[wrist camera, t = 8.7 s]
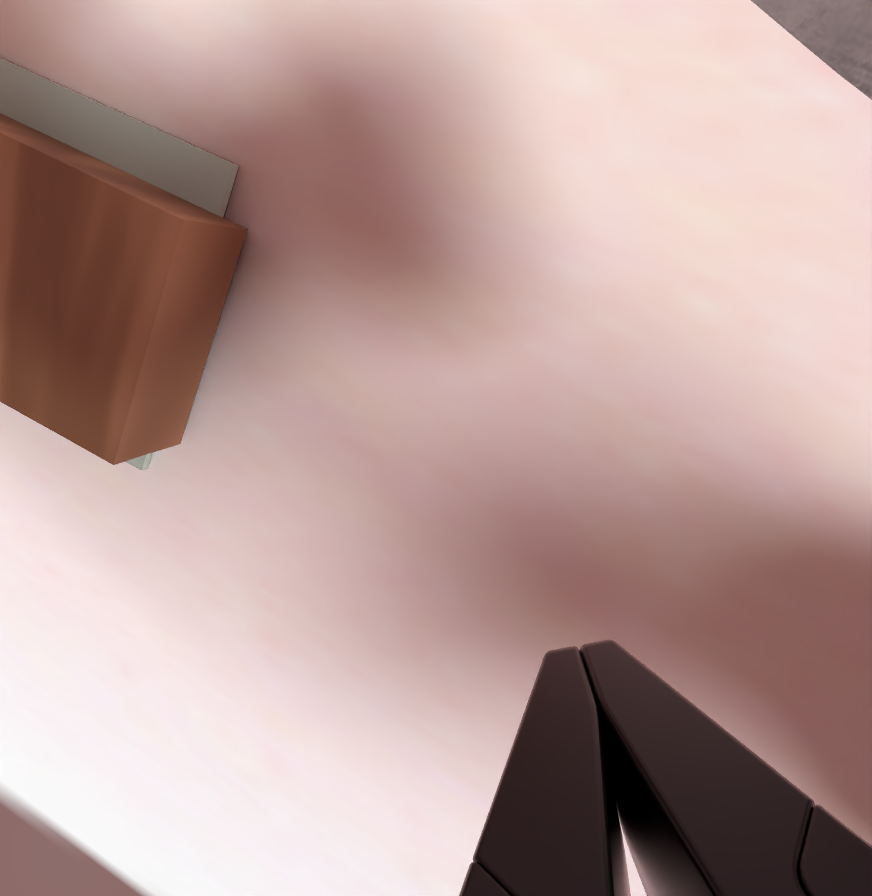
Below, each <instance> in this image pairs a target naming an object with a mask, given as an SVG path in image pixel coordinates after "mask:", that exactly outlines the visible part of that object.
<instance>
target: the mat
mask: <svg viewBox="0 0 872 896" xmlns="http://www.w3.org/2000/svg"><path fill="white" fill-rule="evenodd" d="M0 113H1V114H3V115H5V116H8V117H10V118H12V119H14V120H16V121H18V122H20V123H22V124H25V125H27V126H29V127H31V128H33V129H35V130H37V131H39V132H42V133H44V134H46V135H48V136H50V137H52V138H54V139H56V140H59V141H61V142H63V143H65V144H67V145H69V146H71V147H73V148H76V149H78V150H80V151H82V152H84V153H86V154H88V155H90V156H93V157H95V158H97V159H99V160H101V161H103V162H105V163H107V164H110V165H112V166H114V167H116V168H118V169H120V170H122V171H124V172H127V173H129V174H131V175H133V176H135V177H137V178H139V179H141V180H144V181H146V182H148V183H150V184H152V185H154V186H156V187H158V188H161V189H163V190H165V191H167V192H169V193H171V194H173V195H175V196H178V197H180V198H182V199H184V200H186V201H188V202H190V203H192V204H195V205H197V206H199V207H201V208H203V209H205V210H207V211H209V212H212V213H214V214H216V215H218V216H220V217H222V218H223V217H224V214H225V211H226V207H227V204H228V201H229V197H230V194H231V191H232V187H233V184H234V181H235V178H236V174H237V171H238V168H239V166H238V165H236V164H234V163H231V162H229V161H227V160H225V159H223V158H220V157H218V156H216V155H214V154H212V153H209V152H207V151H205V150H203V149H201V148H198V147H196V146H194V145H192V144H190V143H187V142H185V141H183V140H181V139H179V138H176V137H174V136H172V135H170V134H167V133H165V132H163V131H161V130H159V129H156V128H154V127H152V126H150V125H148V124H145V123H143V122H141V121H139V120H137V119H134V118H132V117H130V116H128V115H126V114H123V113H121V112H119V111H117V110H115V109H112V108H110V107H108V106H106V105H104V104H101V103H99V102H97V101H95V100H93V99H90V98H88V97H86V96H84V95H81V94H79V93H77V92H75V91H73V90H70V89H68V88H66V87H64V86H62V85H59V84H57V83H55V82H53V81H51V80H48V79H46V78H44V77H42V76H40V75H37V74H35V73H33V72H31V71H29V70H26V69H24V68H22V67H20V66H18V65H15V64H13V63H11V62H9V61H7V60H4V59H2V58H0ZM151 456H152V453H149V454H146V455H143V456H140V457H137V458H134V459H131V460H127V461H126V462H128V463H129V464H131V465H133V466H135V467H136V468H138V469H140V470H144V469H147V468H148V466H149V463H150V459H151Z"/></svg>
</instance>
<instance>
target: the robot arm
mask: <svg viewBox="0 0 872 896" xmlns="http://www.w3.org/2000/svg"><path fill="white" fill-rule="evenodd" d="M619 819H620V821H619ZM620 823H621V826H622V829H623V833H624V836H625V839H626V841H627V844H628V847H629V850H630V853H631V855H632V858H633V861H634V863H635V866H636V868H637V871H638V873H639V876H640V879H641V881H642V884H643V886H644V889H645V892H646V894H647V896H872V846H871V845H870V844H868V843H867V842H866V841H864V840H863V839H862V838H860V837H859V836H858V835H857V834H855V833H854V832H853V831H851V830H850V829H849V828H847V827H846V826H845V825H844V824H842V823H841V822H840V821H839V820H837V819H836V818H835V817H834V816H832V815H831V814H830V813H829V812H827V811H826V810H825V809H824V808H823V807H821V806H819V805H816V806H815V804H814V801H813V800H812V799H811V798H810V797H808V796H807V795H806V794H805V793H803V792H802V791H801V790H800V789H798V788H797V787H796V786H795V785H793V784H792V783H791V782H790V781H788V780H787V779H786V778H785V777H783V776H782V775H781V774H780V773H778V772H777V771H776V770H775V769H773V768H772V767H771V766H770V765H768V764H767V763H766V762H765V761H763V760H762V759H761V758H760V757H758V756H757V755H756V754H755V753H753V752H752V751H751V750H750V749H748V748H747V747H746V746H745V745H743V744H742V743H741V742H740V741H738V740H737V739H736V738H735V737H733V736H732V735H731V734H730V733H728V732H727V731H726V730H725V729H723V728H722V727H721V726H720V725H718V724H717V723H716V722H715V721H713V720H712V719H711V718H710V717H708V716H707V715H706V714H705V713H703V712H702V711H701V710H700V709H698V708H697V707H696V706H695V705H693V704H692V703H691V702H690V701H688V700H687V699H686V698H685V697H683V696H682V695H681V694H680V693H678V692H677V691H676V690H675V689H673V688H672V687H671V686H670V685H668V684H667V683H666V682H665V681H663V680H662V679H661V678H660V677H658V676H657V675H656V674H655V673H653V672H652V671H651V670H650V669H648V668H647V667H646V666H645V665H644V664H642V663H641V662H640V661H639V660H637V659H636V658H635V657H634V656H632V655H631V654H630V653H629V652H627V651H626V650H625V649H624V648H622V647H621V646H620V645H619V644H617V643H616V642H615V641H612V640H605V641H599V642H594V643H589V644H584V645H582V646H581V649H580V650H579V649H578V648H577V647H567V648H562V649H557V650H551V651H548V652H547V653H546V654H545V656H544V658H543V661H542V663H541V666H540V669H539V672H538V675H537V678H536V680H535V683H534V686H533V689H532V692H531V695H530V697H529V700H528V703H527V706H526V709H525V712H524V714H523V717H522V720H521V723H520V726H519V729H518V731H517V734H516V737H515V740H514V743H513V745H512V748H511V751H510V754H509V757H508V760H507V762H506V765H505V768H504V771H503V774H502V777H501V779H500V782H499V785H498V788H497V791H496V794H495V796H494V799H493V802H492V805H491V808H490V811H489V813H488V816H487V819H486V822H485V825H484V828H483V830H482V833H481V836H480V839H479V842H478V844H477V847H476V850H475V853H474V856H473V862H472V863H471V864H470V866H469V869H468V872H467V875H466V877H465V880H464V883H463V886H462V889H461V892H460V894H459V896H631V894H630V887H629V879H628V872H627V864H626V857H625V850H624V844H623V838H622V832H621V827H620Z"/></svg>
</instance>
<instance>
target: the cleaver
mask: <svg viewBox="0 0 872 896" xmlns="http://www.w3.org/2000/svg"><path fill="white" fill-rule="evenodd" d="M751 1H752V2H753V3H755V4H756V5H757V6H758V7H759V8H761V9H762V10H763V11H764V12H765V13H766V14H768V15H769V16H770V17H771V18H772V19H774V20H775V21H776V22H777V23H778V24H780V25H781V26H782V27H783V28H784V29H786V30H787V31H788V32H789V33H790V34H791V35H793V36H794V37H795V38H796V39H797V40H799V41H800V42H801V43H802V44H803V45H805V46H806V47H807V48H808V49H809V50H810V51H812V52H813V53H814V54H815V55H816V56H818V57H819V58H820V59H821V60H822V61H824V62H825V63H826V64H827V65H828V66H830V67H831V68H832V69H833V70H834V71H836V72H837V73H838V74H839V75H841V76H842V77H843V78H844V79H846V80H847V81H848V82H850V83H851V84H852V85H854V86H855V87H856V88H857V89H859V90H860V91H861V92H863V93H864V94H865V95H866V96H868V97H869V98H870V99H872V0H751Z"/></svg>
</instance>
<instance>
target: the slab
mask: <svg viewBox="0 0 872 896" xmlns="http://www.w3.org/2000/svg"><path fill="white" fill-rule="evenodd" d="M247 230H248V229H246V228H243V227H241V226H239V225H237V224H235V223H233V222H231V221H229V220H226V219H224V218H222V217H220V216H218V215H216V214H214V213H212V212H209V211H207V210H205V209H203V208H201V207H199V206H197V205H195V204H192V203H190V202H188V201H186V200H184V199H182V198H180V197H178V196H175V195H173V194H171V193H169V192H167V191H165V190H163V189H161V188H158V187H156V186H154V185H152V184H150V183H148V182H146V181H144V180H141V179H139V178H137V177H135V176H133V175H131V174H129V173H127V172H124V171H122V170H120V169H118V168H116V167H114V166H112V165H110V164H107V163H105V162H103V161H101V160H99V159H97V158H95V157H93V156H90V155H88V154H86V153H84V152H82V151H80V150H78V149H76V148H73V147H71V146H69V145H67V144H65V143H63V142H61V141H59V140H56V139H54V138H52V137H50V136H48V135H46V134H44V133H42V132H39V131H37V130H35V129H33V128H31V127H29V126H27V125H25V124H22V123H20V122H18V121H16V120H14V119H12V118H10V117H8V116H5V115H3V114H1V113H0V402H2V403H4V404H6V405H7V406H9V407H11V408H13V409H15V410H16V411H18V412H20V413H22V414H23V415H25V416H27V417H29V418H31V419H32V420H34V421H36V422H38V423H40V424H41V425H43V426H45V427H47V428H48V429H50V430H52V431H54V432H56V433H57V434H59V435H61V436H63V437H65V438H66V439H68V440H70V441H72V442H74V443H75V444H77V445H79V446H81V447H82V448H84V449H86V450H88V451H90V452H91V453H93V454H95V455H97V456H99V457H100V458H102V459H104V460H106V461H107V462H109V463H111V464H113V465H115V464H118V463H121V462H124V461H127V460H131V459H134V458H137V457H140V456H143V455H146V454H149V453H153V452H156V451H159V450H162V449H165V448H168V447H171V446H175V445H178V444H180V443H181V440H182V437H183V434H184V430H185V427H186V424H187V421H188V418H189V414H190V411H191V408H192V405H193V402H194V399H195V395H196V392H197V389H198V386H199V383H200V379H201V376H202V373H203V370H204V367H205V364H206V360H207V357H208V354H209V351H210V348H211V344H212V341H213V338H214V335H215V332H216V328H217V325H218V322H219V319H220V316H221V313H222V309H223V306H224V303H225V300H226V297H227V293H228V290H229V287H230V284H231V281H232V277H233V274H234V271H235V268H236V265H237V262H238V258H239V255H240V252H241V249H242V246H243V242H244V239H245V236H246V233H247Z"/></svg>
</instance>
